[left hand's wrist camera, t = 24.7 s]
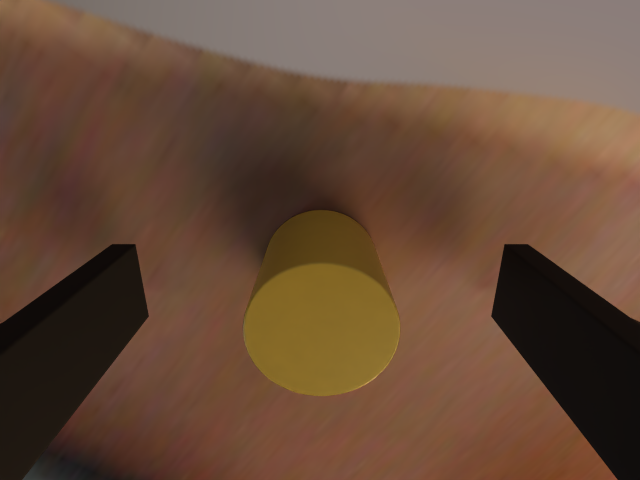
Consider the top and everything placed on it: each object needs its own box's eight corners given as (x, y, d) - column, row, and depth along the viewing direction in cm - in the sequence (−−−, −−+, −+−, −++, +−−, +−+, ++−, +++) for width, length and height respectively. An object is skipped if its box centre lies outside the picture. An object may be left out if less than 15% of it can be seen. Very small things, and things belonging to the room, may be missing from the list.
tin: (349, 324, 15) (361, 413, 11) (251, 290, 15) (222, 370, 10) (395, 233, 14) (428, 295, 10) (288, 192, 13) (273, 238, 9)
